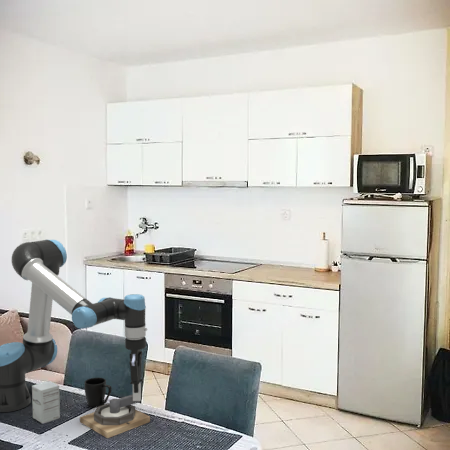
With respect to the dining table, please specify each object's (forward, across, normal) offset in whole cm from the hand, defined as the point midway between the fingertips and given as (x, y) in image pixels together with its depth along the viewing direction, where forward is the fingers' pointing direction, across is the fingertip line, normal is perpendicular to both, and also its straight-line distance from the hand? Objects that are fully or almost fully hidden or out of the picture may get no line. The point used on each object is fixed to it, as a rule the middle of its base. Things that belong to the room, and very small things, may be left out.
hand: (136, 400), depth 201 cm
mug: (+7, +12, +17) cm, 22 cm away
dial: (+5, -2, +6) cm, 7 cm away
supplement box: (+7, 0, +34) cm, 35 cm away
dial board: (+7, -3, +8) cm, 11 cm away
